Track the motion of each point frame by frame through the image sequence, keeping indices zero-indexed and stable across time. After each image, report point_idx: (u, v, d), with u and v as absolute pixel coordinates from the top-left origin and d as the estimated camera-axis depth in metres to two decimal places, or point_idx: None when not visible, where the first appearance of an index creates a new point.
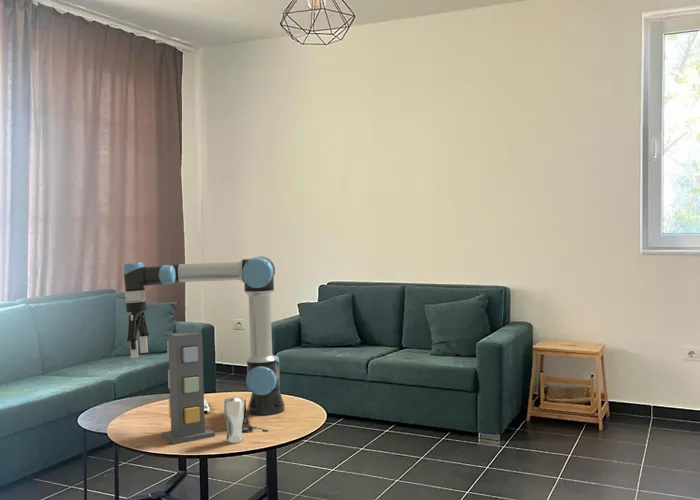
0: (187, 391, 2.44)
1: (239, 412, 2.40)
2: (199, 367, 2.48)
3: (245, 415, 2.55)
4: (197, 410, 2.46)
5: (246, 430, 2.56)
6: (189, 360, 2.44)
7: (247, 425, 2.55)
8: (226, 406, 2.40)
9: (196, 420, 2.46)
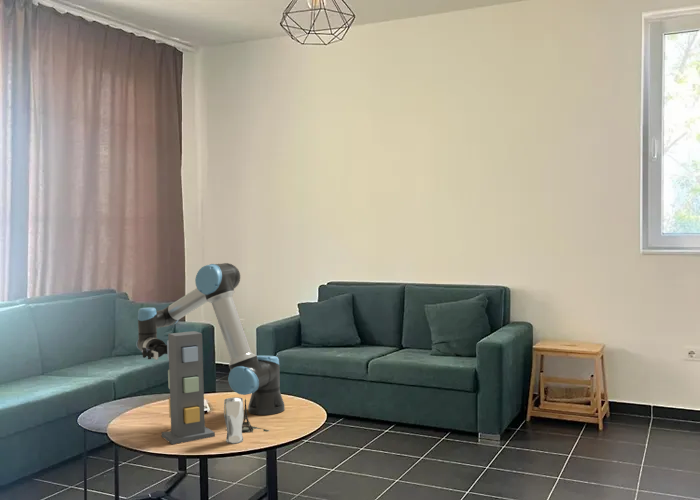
0: (187, 391, 2.44)
1: (239, 412, 2.40)
2: (199, 367, 2.48)
3: (245, 415, 2.56)
4: (197, 410, 2.46)
5: (246, 430, 2.57)
6: (189, 360, 2.44)
7: (247, 425, 2.55)
8: (226, 406, 2.40)
9: (196, 420, 2.46)
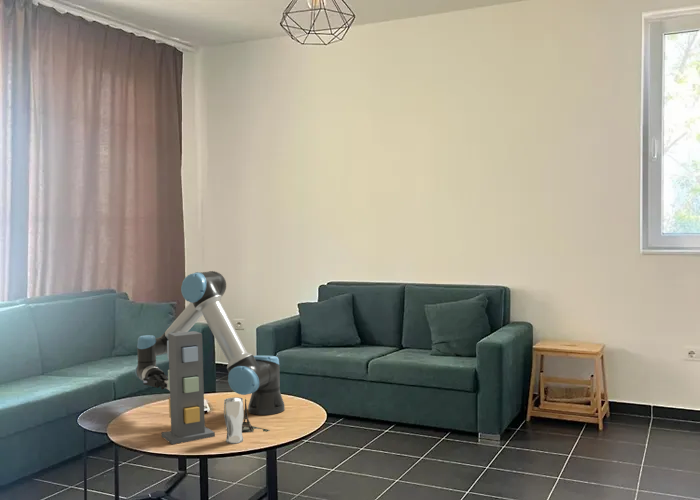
0: (187, 391, 2.44)
1: (239, 412, 2.40)
2: (199, 367, 2.48)
3: (246, 415, 2.56)
4: (197, 410, 2.46)
5: (247, 430, 2.57)
6: (189, 360, 2.44)
7: (248, 425, 2.55)
8: (226, 406, 2.40)
9: (196, 420, 2.46)
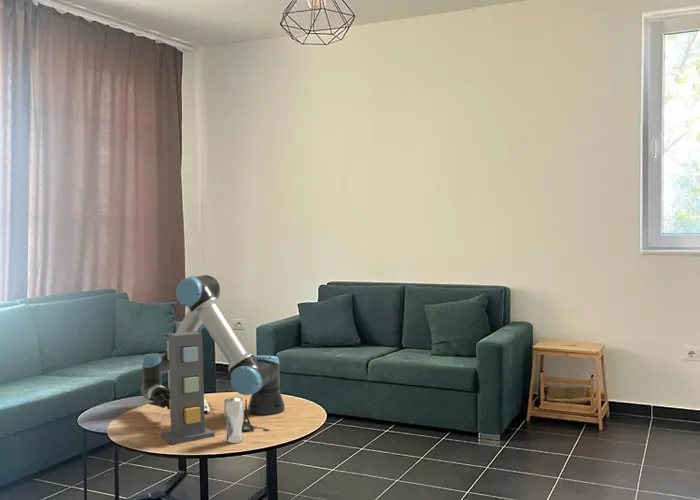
0: (187, 391, 2.44)
1: (239, 412, 2.40)
2: (199, 367, 2.48)
3: (246, 415, 2.56)
4: (198, 410, 2.45)
5: (247, 430, 2.57)
6: (189, 360, 2.44)
7: (248, 425, 2.55)
8: (226, 406, 2.40)
9: (197, 420, 2.45)
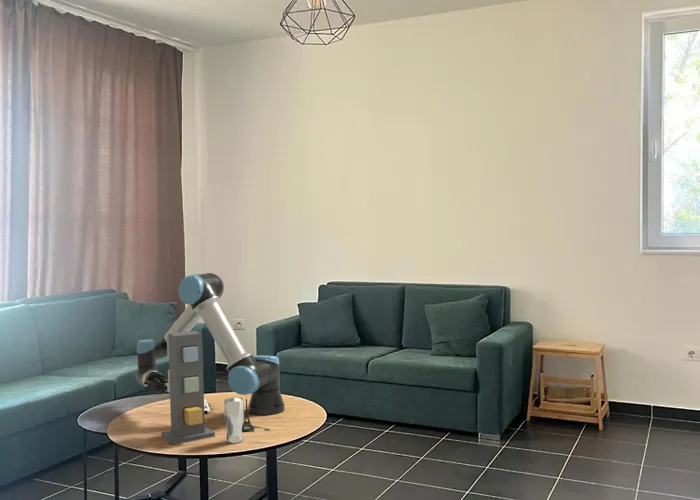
0: (187, 391, 2.44)
1: (239, 412, 2.40)
2: (199, 367, 2.48)
3: (246, 414, 2.56)
4: (200, 412, 2.44)
5: (247, 429, 2.57)
6: (189, 360, 2.44)
7: (249, 424, 2.56)
8: (226, 406, 2.40)
9: (199, 422, 2.43)
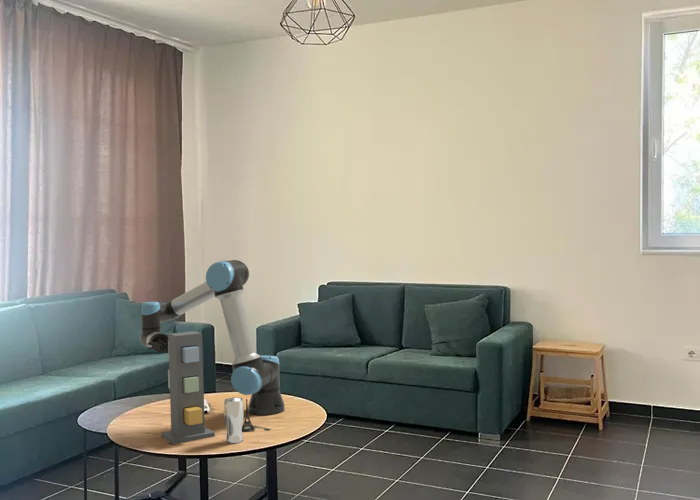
0: (187, 391, 2.44)
1: (239, 412, 2.40)
2: (199, 367, 2.48)
3: (247, 414, 2.57)
4: (200, 412, 2.44)
5: (248, 429, 2.58)
6: (190, 360, 2.43)
7: (249, 424, 2.56)
8: (226, 406, 2.40)
9: (199, 422, 2.43)
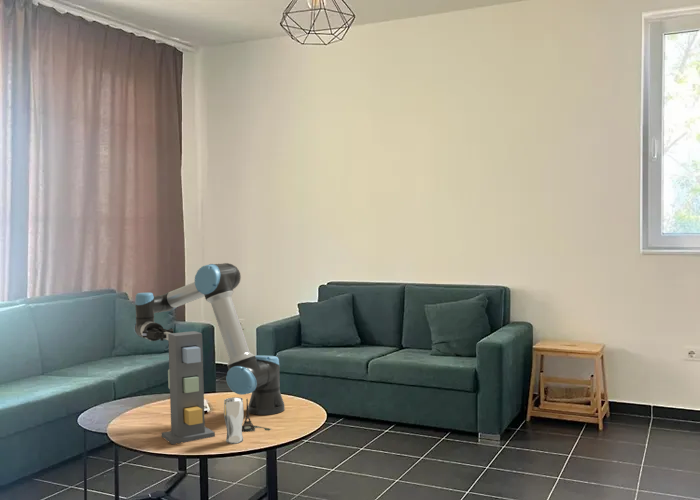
0: (187, 391, 2.44)
1: (239, 412, 2.40)
2: (199, 367, 2.48)
3: (247, 414, 2.57)
4: (200, 412, 2.44)
5: (248, 429, 2.58)
6: (192, 361, 2.42)
7: (249, 424, 2.56)
8: (226, 406, 2.40)
9: (199, 422, 2.43)
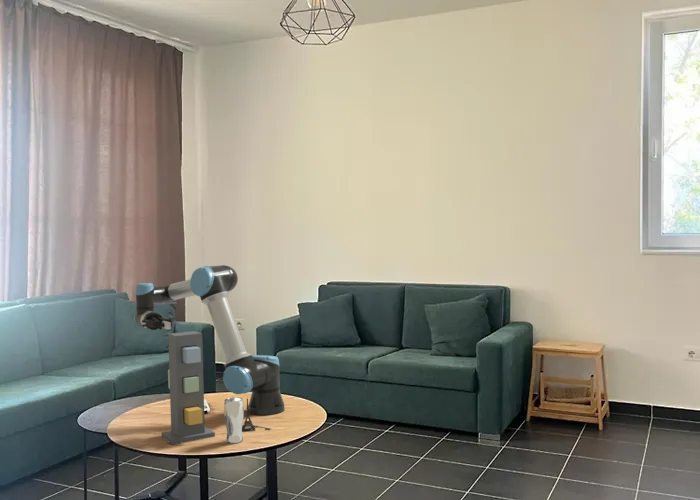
0: (187, 391, 2.44)
1: (239, 412, 2.40)
2: (199, 367, 2.48)
3: (247, 414, 2.57)
4: (200, 412, 2.44)
5: (248, 429, 2.58)
6: (192, 361, 2.42)
7: (250, 424, 2.56)
8: (226, 406, 2.40)
9: (199, 422, 2.43)
